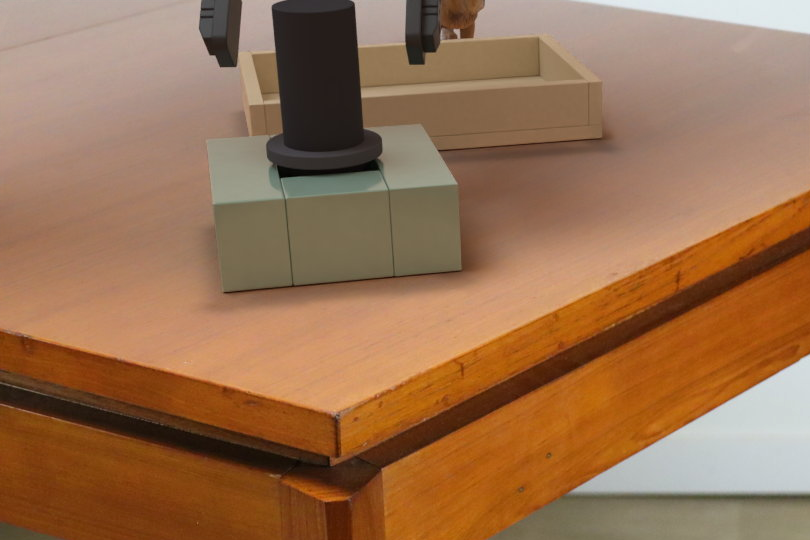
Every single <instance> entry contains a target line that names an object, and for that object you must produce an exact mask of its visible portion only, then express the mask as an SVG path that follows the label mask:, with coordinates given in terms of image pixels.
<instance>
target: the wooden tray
mask: <svg viewBox="0 0 810 540" xmlns="http://www.w3.org/2000/svg"><path fill="white" fill-rule="evenodd" d="M358 56H359V71H360V85H361V100H362V114H363V128H370V127H383V126H397V125H411V124H422V125H423V127H424V129H425V130H426V132H427V134H428V135H429V137H430V139H431V140H432V142H433V144H434V145H435V147H436V149H437V150H438V151H449V150H461V149H475V148H489V147H503V146H513V145H514V146H515V145H527V144H528V145H529V144H540V143H541V144H542V143H553V142H567V141H580V140H591V139H592V140H593V139H602V138H603V81H602V80H601V79H600V78H599V77H598V75H597V76H596V74H594V73H593V72H592V71H591V70H590V69H589V68H588V67H587V66H585V65H584V64H583V63H582V62H581V61H580V60H578V59H577V58H576V57H575V56H574V55H573V54H571V52H570V51H568V50H567V49H566V48H565V47H563V45H561V44H560V42H558V41H557V40H556V39H554V37H552V36H551V35H550V34H549V33H537V34H519V35H518V34H517V35H504V36H489V37H487V36H486V37H473V38H468V39H460V38H458V39H451V40H442V39H440V45H439V47H438V49H437V51H436V53H426V58H425V65H409V61H408V56H407V51H406V44H405V41H404V42H386V43H370V44H358ZM238 69H239V79H240V87H241V96H242V97H241V98H242V106H243V111H244V116H245V121H246V126H247V131H248V136H261V135H269V136H270V135H275V134H282V133H283V128H282V117H281V106H280V95H279V84H278V74H277V63H276V52H275V49H271V50H270V49H269V50H254V51H253V50H252V51H238Z"/></svg>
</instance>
